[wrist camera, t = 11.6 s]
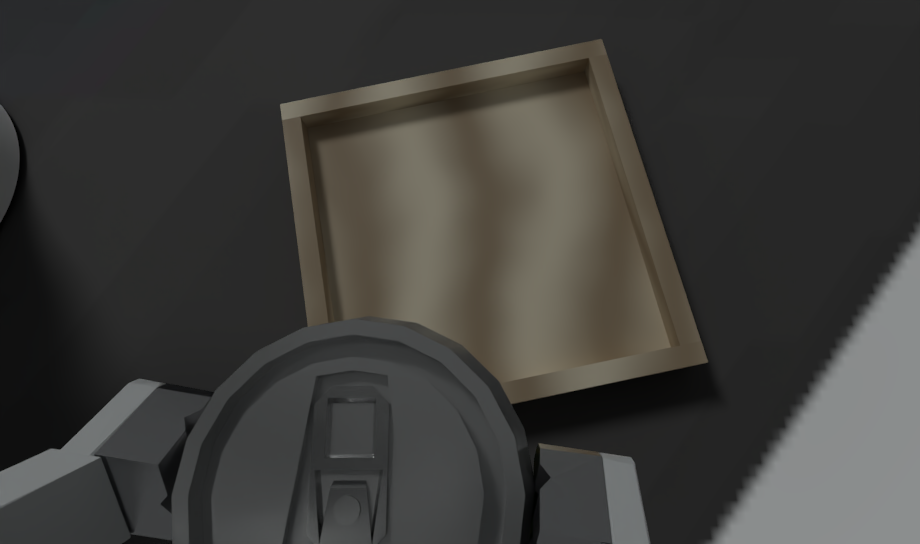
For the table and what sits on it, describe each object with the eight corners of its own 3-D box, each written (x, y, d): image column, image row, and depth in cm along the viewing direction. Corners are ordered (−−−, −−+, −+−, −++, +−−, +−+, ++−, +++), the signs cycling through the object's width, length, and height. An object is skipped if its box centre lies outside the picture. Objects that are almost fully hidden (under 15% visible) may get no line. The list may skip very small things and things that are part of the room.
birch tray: (334, 441, 26) (322, 443, 24) (292, 124, 31) (280, 104, 29) (691, 366, 26) (708, 362, 24) (594, 62, 31) (601, 39, 29)
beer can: (358, 371, 20) (180, 306, 8) (503, 369, 19) (533, 300, 8) (352, 529, 18) (124, 725, 7) (508, 528, 18) (553, 730, 6)
